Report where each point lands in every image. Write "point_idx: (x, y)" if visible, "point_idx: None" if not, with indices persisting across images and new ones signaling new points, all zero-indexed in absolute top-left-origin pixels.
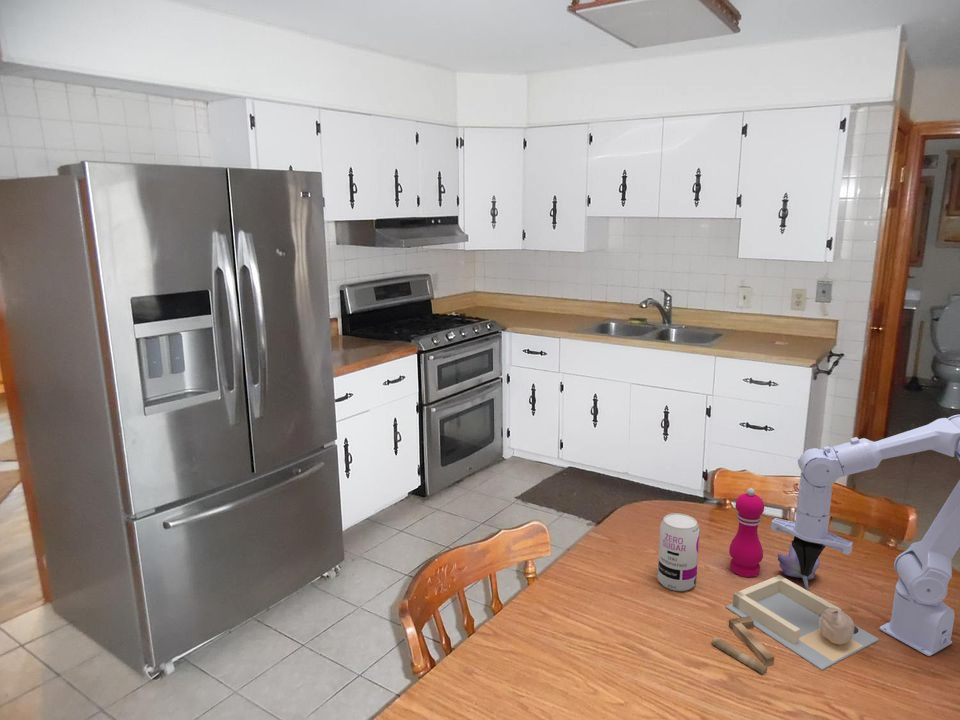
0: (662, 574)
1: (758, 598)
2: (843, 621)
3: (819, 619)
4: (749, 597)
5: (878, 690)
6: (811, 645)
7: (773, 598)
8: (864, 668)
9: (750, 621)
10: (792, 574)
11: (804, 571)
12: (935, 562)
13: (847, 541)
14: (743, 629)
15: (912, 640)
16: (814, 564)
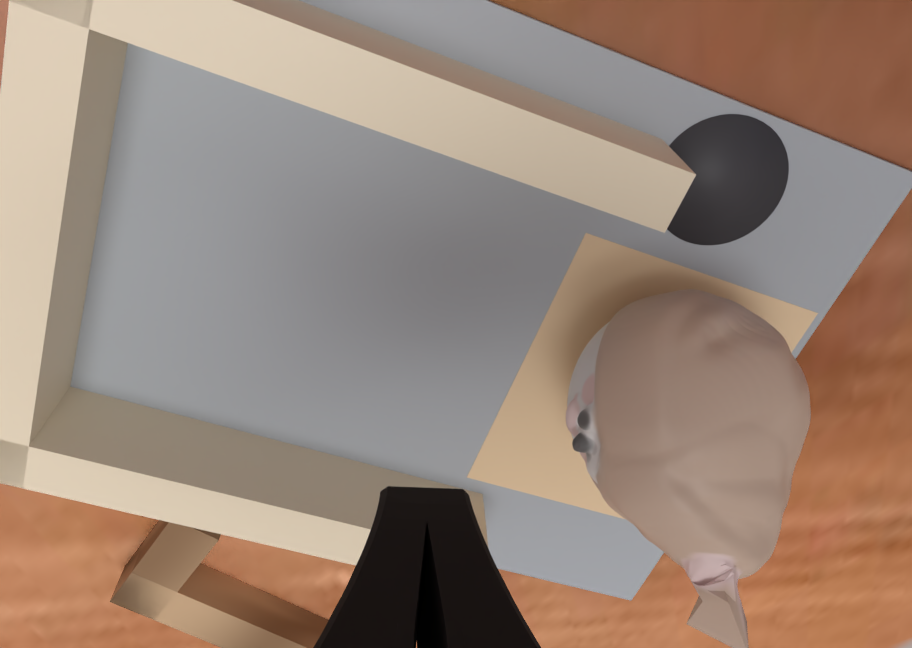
0: None
1: (84, 263)
2: (764, 563)
3: (573, 434)
4: (52, 375)
5: (870, 568)
6: (548, 482)
7: (154, 150)
8: (815, 472)
9: (207, 552)
10: None
11: (418, 639)
12: None
13: None
14: (218, 626)
15: None
16: (495, 566)
